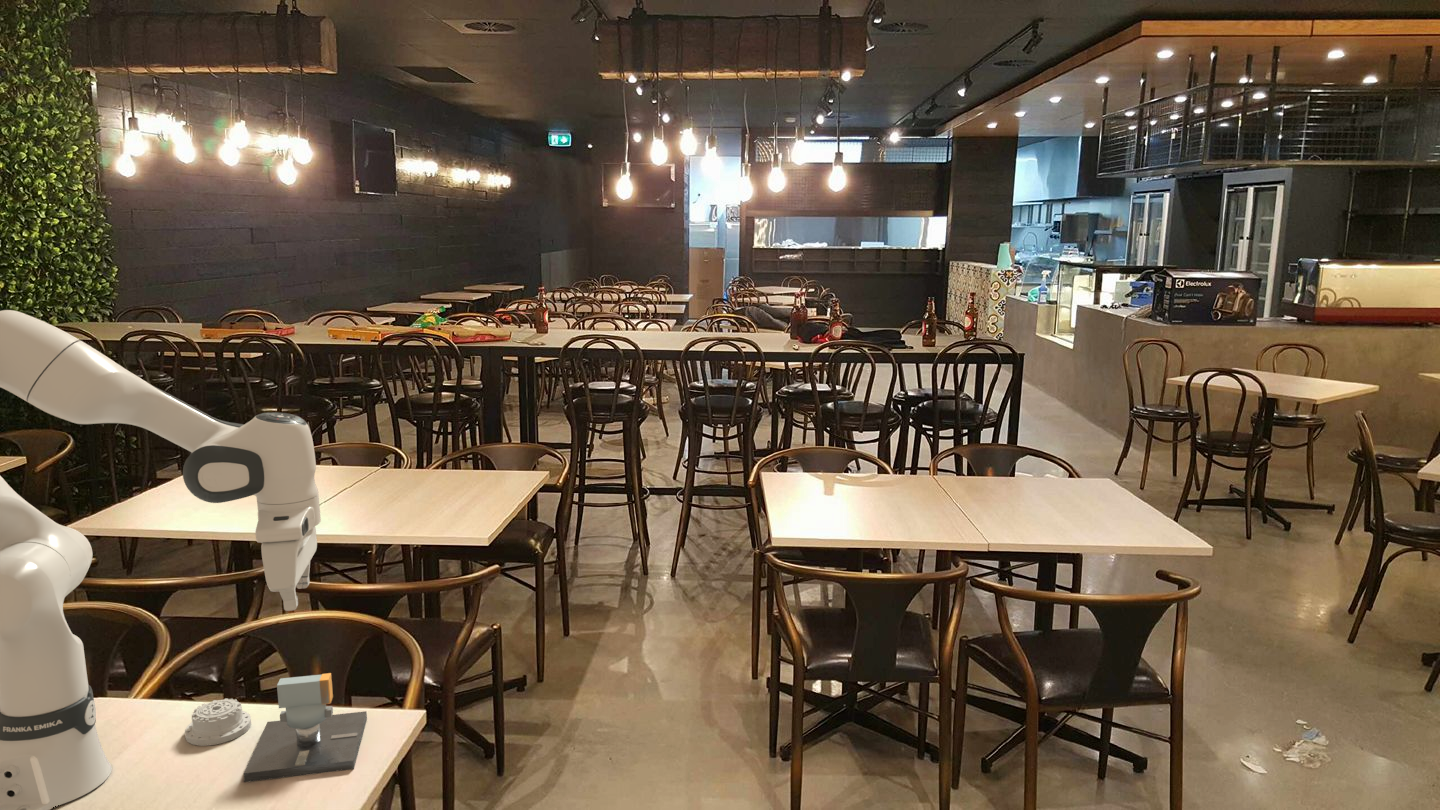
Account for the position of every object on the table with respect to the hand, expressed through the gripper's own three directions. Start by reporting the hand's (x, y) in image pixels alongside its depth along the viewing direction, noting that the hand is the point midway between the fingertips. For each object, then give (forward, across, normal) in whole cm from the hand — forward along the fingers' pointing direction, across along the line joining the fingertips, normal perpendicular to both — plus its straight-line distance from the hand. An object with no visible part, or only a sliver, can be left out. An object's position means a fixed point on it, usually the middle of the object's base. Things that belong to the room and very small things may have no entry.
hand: (297, 597), depth 149 cm
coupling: (+21, 0, 0) cm, 21 cm away
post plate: (+26, 0, 0) cm, 26 cm away
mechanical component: (+27, -10, -16) cm, 33 cm away
